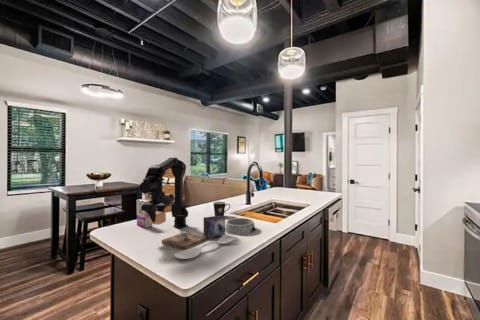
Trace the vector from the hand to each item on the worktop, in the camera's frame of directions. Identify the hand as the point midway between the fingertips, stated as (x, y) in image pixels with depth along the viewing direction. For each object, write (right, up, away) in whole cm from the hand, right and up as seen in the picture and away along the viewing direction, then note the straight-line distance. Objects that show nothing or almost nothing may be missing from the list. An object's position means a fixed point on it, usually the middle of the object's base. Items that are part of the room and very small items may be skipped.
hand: (157, 220), depth 121 cm
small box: (+29, -11, +7) cm, 31 cm away
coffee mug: (+29, -10, +48) cm, 57 cm away
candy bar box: (-18, -11, +28) cm, 35 cm away
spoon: (+27, -11, -11) cm, 31 cm away
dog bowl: (+43, -11, +18) cm, 47 cm away
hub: (0, -1, 0) cm, 1 cm away
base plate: (+14, -11, 0) cm, 18 cm away
